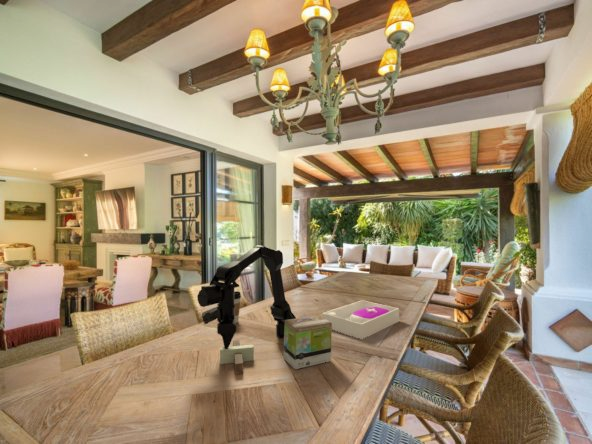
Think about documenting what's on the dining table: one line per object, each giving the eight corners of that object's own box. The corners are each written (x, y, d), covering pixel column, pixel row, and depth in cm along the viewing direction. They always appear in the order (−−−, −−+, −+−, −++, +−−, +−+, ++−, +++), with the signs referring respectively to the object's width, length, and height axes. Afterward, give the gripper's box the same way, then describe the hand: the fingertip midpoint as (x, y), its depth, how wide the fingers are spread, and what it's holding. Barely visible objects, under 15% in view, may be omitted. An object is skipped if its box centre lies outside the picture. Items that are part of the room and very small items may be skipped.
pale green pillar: (252, 357, 112) (253, 344, 112) (253, 360, 109) (253, 347, 109) (220, 361, 109) (220, 347, 109) (220, 364, 106) (220, 350, 106)
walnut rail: (239, 348, 119) (239, 340, 119) (243, 373, 100) (243, 363, 100) (232, 349, 118) (232, 340, 118) (235, 374, 99) (235, 363, 99)
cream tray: (322, 327, 145) (322, 312, 145) (361, 312, 170) (362, 299, 170) (361, 340, 129) (361, 323, 129) (399, 322, 154) (399, 307, 154)
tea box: (295, 371, 101) (295, 327, 101) (283, 359, 110) (283, 319, 110) (332, 361, 108) (332, 321, 108) (317, 351, 117) (317, 313, 117)
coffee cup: (236, 325, 147) (237, 294, 147) (221, 323, 148) (221, 293, 148) (243, 319, 155) (243, 290, 155) (228, 318, 156) (228, 290, 157)
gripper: (204, 295, 115) (204, 336, 115) (201, 309, 97) (201, 357, 97) (233, 294, 118) (233, 333, 118) (236, 307, 100) (236, 353, 100)
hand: (226, 343), depth 108 cm, fingers open, 9 cm apart
